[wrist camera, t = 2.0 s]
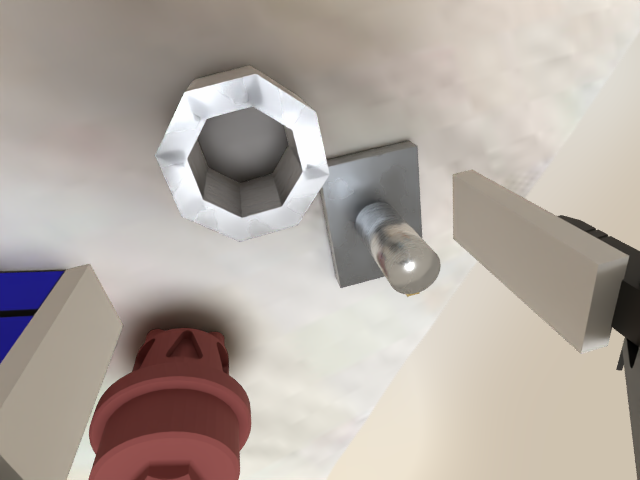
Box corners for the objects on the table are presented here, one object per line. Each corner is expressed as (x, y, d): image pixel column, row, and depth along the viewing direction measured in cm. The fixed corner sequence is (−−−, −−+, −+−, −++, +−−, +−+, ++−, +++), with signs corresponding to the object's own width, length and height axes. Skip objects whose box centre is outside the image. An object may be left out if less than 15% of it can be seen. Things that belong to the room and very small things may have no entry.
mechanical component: (94, 325, 30) (219, 281, 31) (155, 406, 35) (262, 367, 36) (20, 485, 20) (214, 415, 20) (123, 570, 24) (277, 512, 25)
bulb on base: (314, 162, 28) (345, 209, 20) (408, 140, 29) (471, 178, 21) (336, 277, 33) (367, 349, 25) (416, 256, 33) (469, 320, 26)
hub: (153, 89, 24) (132, 105, 19) (288, 54, 24) (305, 60, 19) (203, 212, 28) (198, 254, 23) (318, 180, 29) (338, 213, 23)
